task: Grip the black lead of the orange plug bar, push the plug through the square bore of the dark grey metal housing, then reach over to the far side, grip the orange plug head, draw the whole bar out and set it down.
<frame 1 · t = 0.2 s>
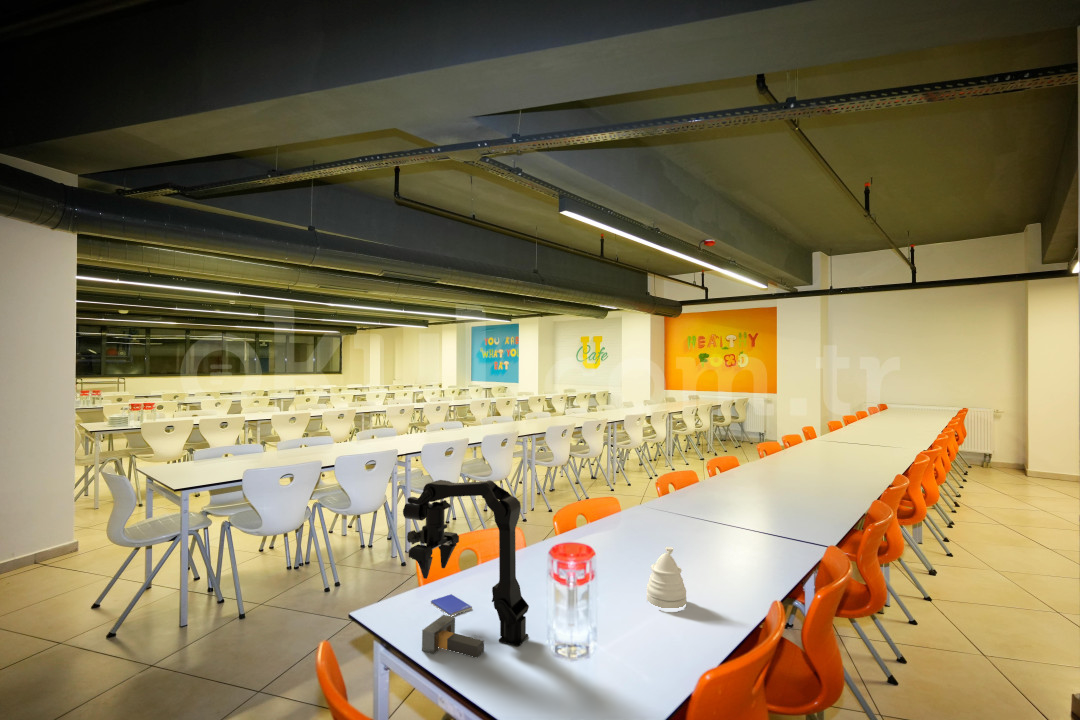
hand: (434, 573, 154), 14 cm above the table, tool pointing down, fingers open, 9 cm apart
housing: (438, 643, 140), on the table
hard drive: (451, 608, 163), on the table
honey pot: (666, 604, 167), on the table
plug: (458, 649, 138), on the table
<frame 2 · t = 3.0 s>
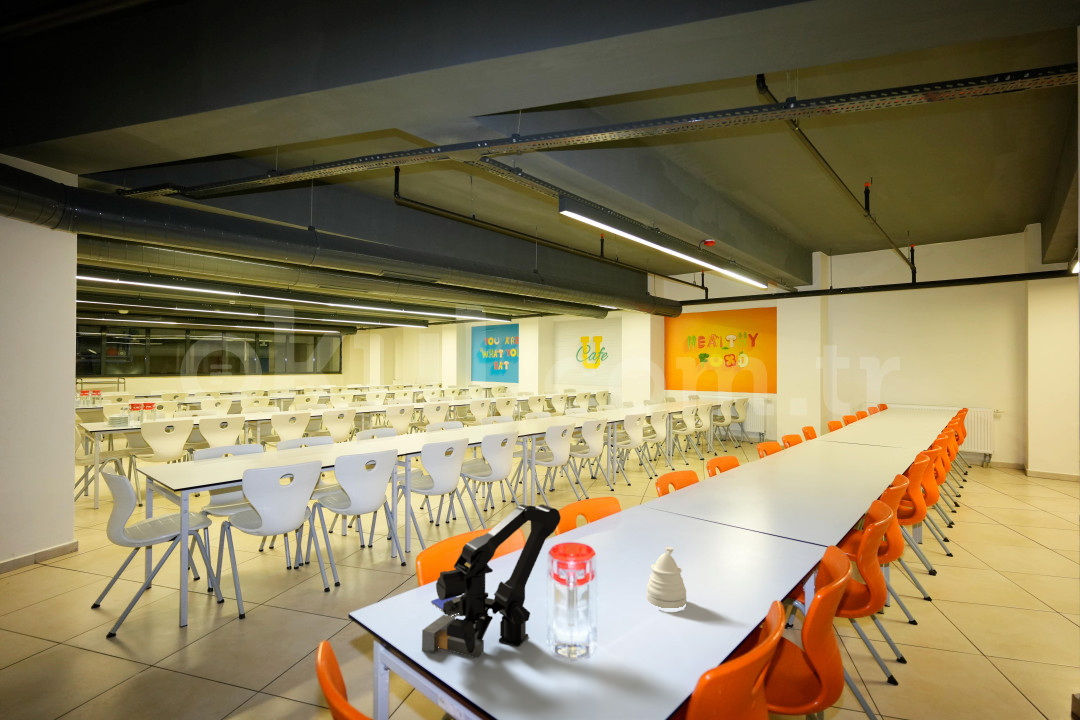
hand: (474, 649, 136), 1 cm above the table, tool pointing down, fingers closed on plug, 3 cm apart
plug: (458, 648, 138), on the table, touching gripper
everything else where it was.
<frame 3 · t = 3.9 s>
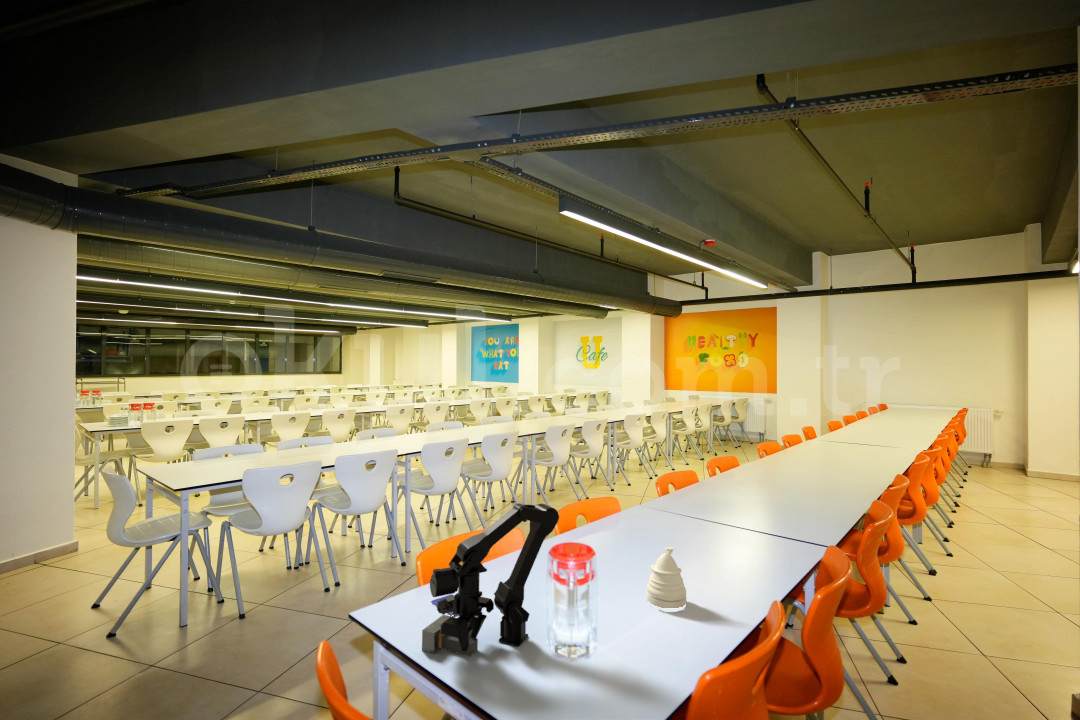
hand: (467, 647, 136), 1 cm above the table, tool pointing down, fingers closed on plug, 3 cm apart
plug: (452, 647, 138), on the table, touching gripper
everything else where it was.
when the fingers open (1 cm above the table, at t = 5.1 s): plug stays where it is, on the table.
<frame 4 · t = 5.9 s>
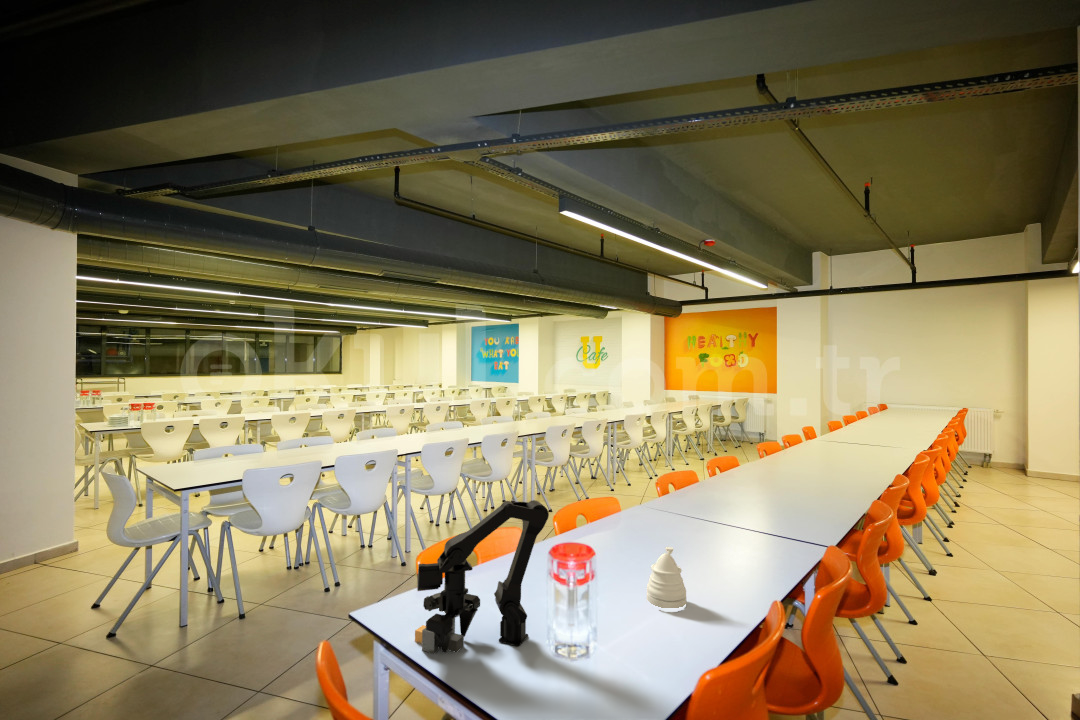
hand: (453, 643, 138), 1 cm above the table, tool pointing down, fingers open, 9 cm apart
plug: (439, 643, 140), on the table
everything else where it was.
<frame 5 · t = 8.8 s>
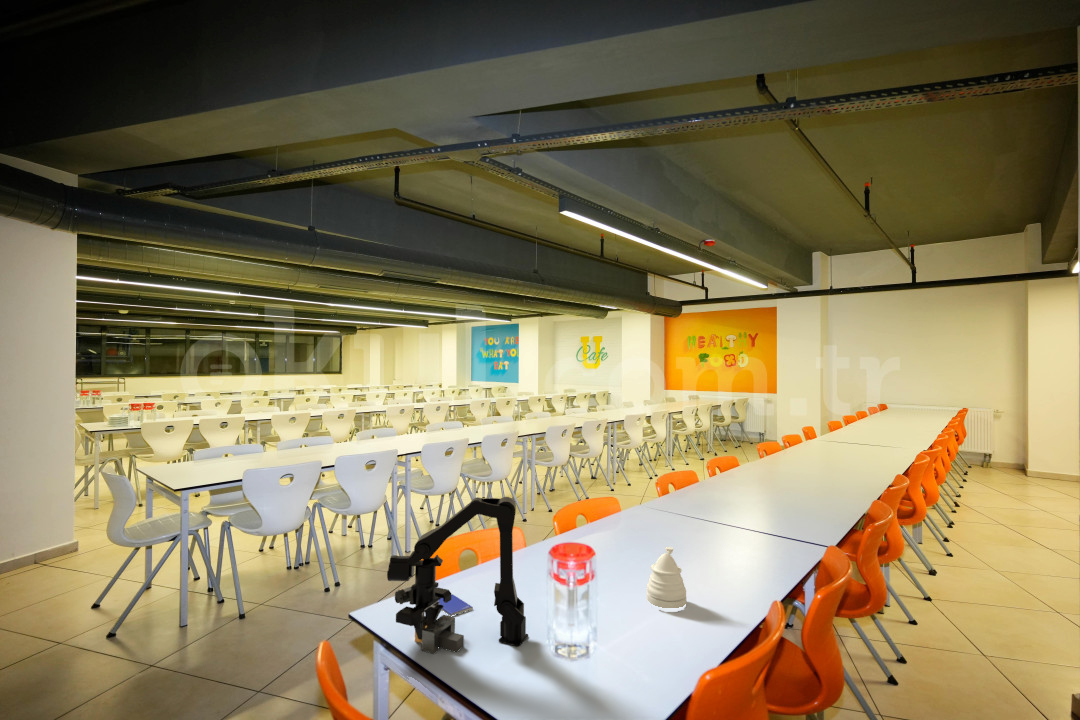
hand: (424, 636, 142), 1 cm above the table, tool pointing down, fingers closed on plug, 3 cm apart
plug: (438, 643, 140), on the table, touching gripper
everything else where it was.
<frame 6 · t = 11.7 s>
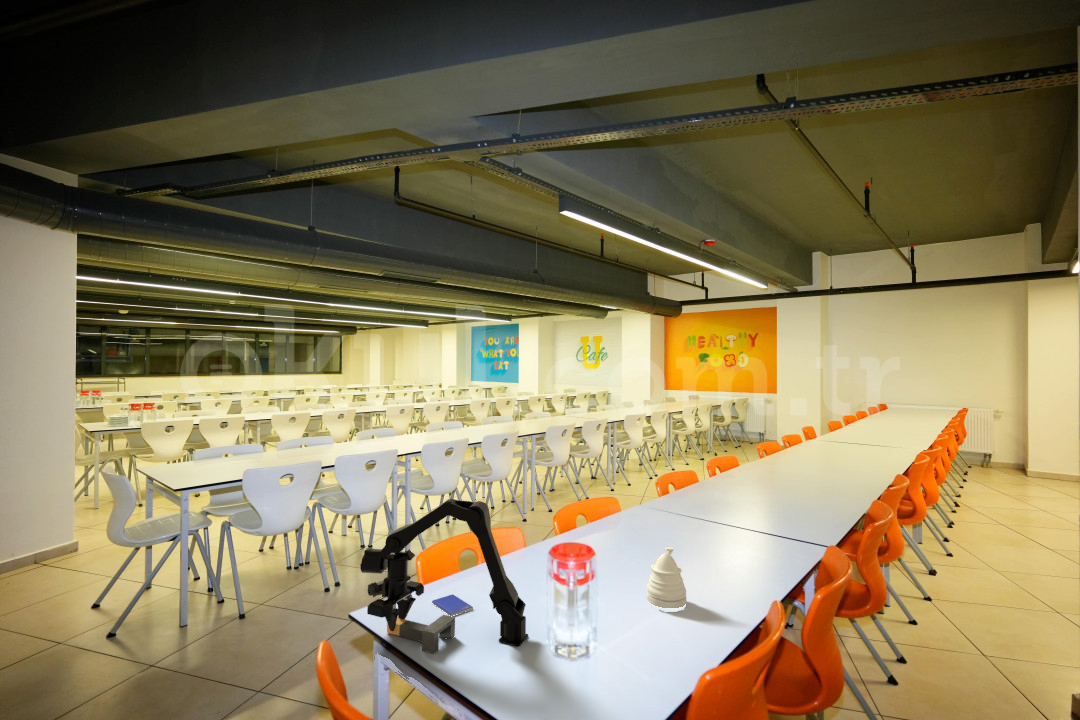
hand: (396, 627, 146), 1 cm above the table, tool pointing down, fingers closed on plug, 3 cm apart
plug: (410, 635, 144), on the table, touching gripper
everything else where it was.
when the fingers open (2 cm above the table, at t = 14.7 s): plug drops 2 cm, on the table.
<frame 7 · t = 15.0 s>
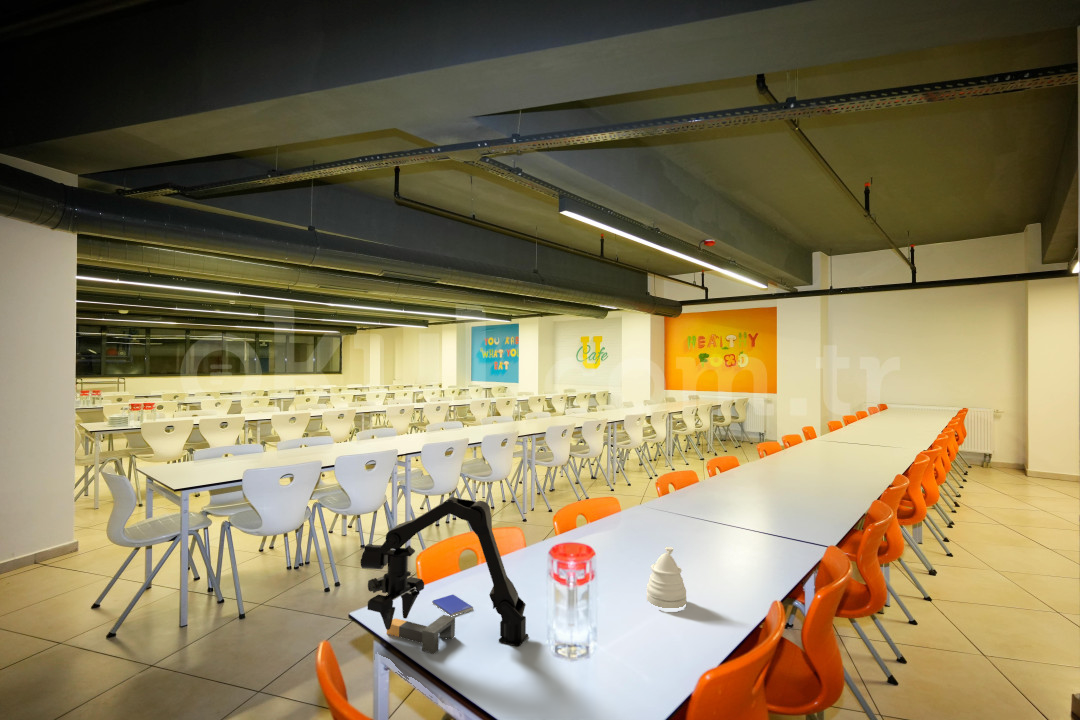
hand: (396, 623, 146), 2 cm above the table, tool pointing down, fingers open, 7 cm apart
plug: (409, 636, 144), on the table
everything else where it was.
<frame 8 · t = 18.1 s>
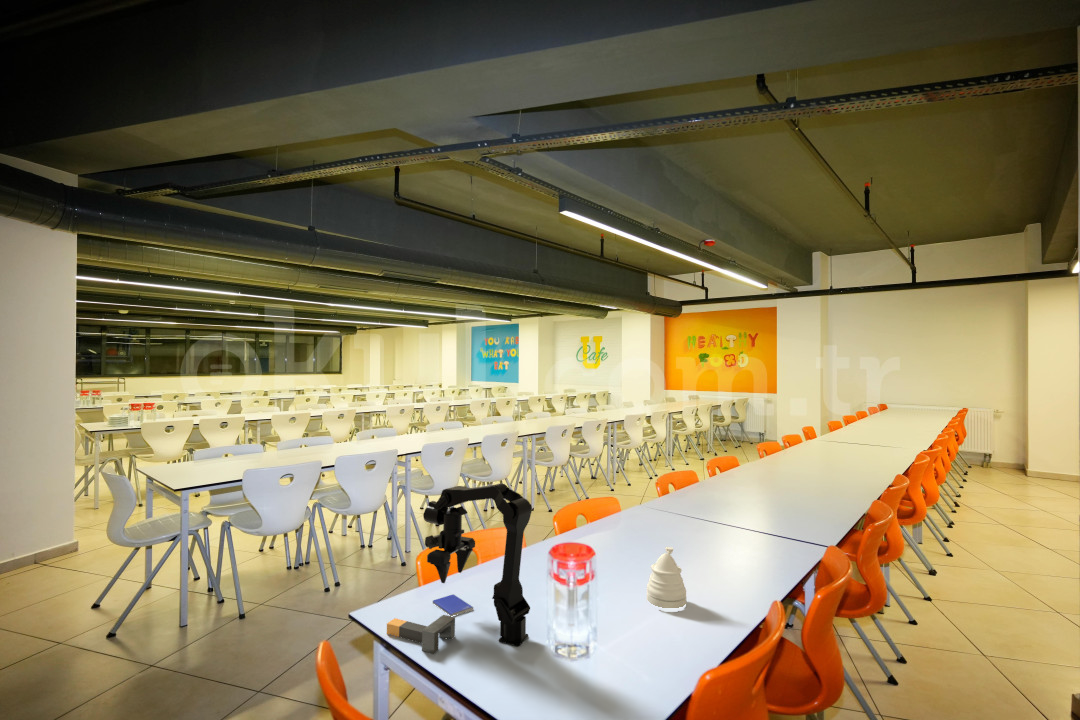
hand: (451, 577, 157), 12 cm above the table, tool pointing down, fingers open, 9 cm apart
nothing on the table moved.
at the end: plug inside the target area (4.0 cm from its centre), on the table; the gripper is holding nothing; plug tilted 0° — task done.
